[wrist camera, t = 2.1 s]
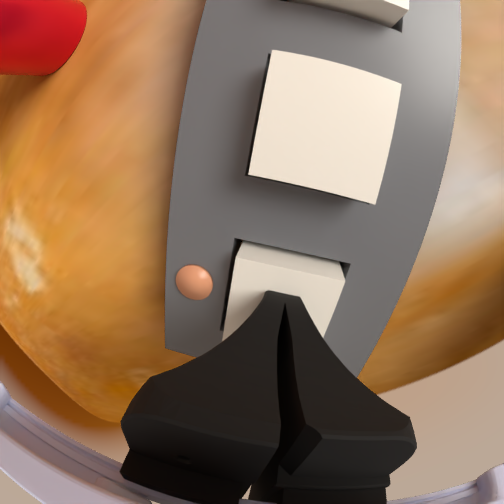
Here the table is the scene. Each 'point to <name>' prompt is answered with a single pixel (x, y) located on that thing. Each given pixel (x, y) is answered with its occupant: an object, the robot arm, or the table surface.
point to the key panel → (295, 196)
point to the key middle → (325, 126)
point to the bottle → (39, 34)
